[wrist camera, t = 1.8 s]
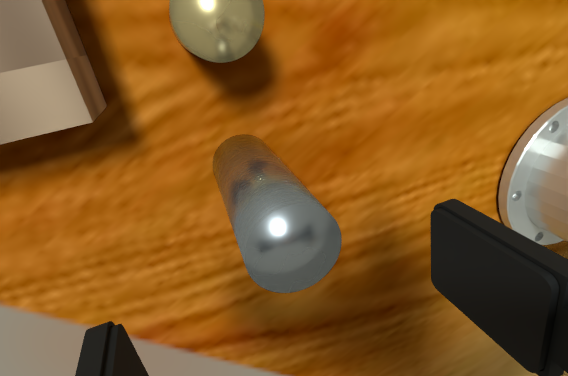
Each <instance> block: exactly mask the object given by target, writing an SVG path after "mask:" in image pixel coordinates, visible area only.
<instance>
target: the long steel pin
mask: <svg viewBox="0 0 568 376" xmlns="http://www.w3.org/2000/svg"><path fill="white" fill-rule="evenodd" d="M213 172H214V175H215V178H216V181H217V184H218V186H219V189H220V192H221V195H222V198H223V201H224V204H225V207H226V210H227V213H228V216H229V219H230V222H231V225H232V227H233V230H234V233H235V236H236V239H237V242H238V245H239V248H240V251H241V254H242V257H243V260H244V263H245V266H246V268H247V271H248V273H249V275H250V277H251V278H252V279H253V280H254V282H256V283H257V284H258V285H259V286H261V287H262V288H264V289H266V290H269V291H272V292H278V293H291V292H296V291H300V290H303V289H306V288H308V287H310V286H312V285H314V284H315V283H317V282H318V281H320V280H321V279H322V278H323V277H324V276H325V275H326V274H327V273H328V272H329V271H330V270H331V268H332V267H333V265H334V264H335V262H336V260H337V258H338V256H339V253H340V249H341V232H340V229H339V226H338V224H337V222H336V220H335V219H334V218H333V217H332V216H331V214H330V213H329V212H328V211H327V210H326V209H325V208H324V207H323V206H322V205H321V204H320V203H319V201H318V200H317V199H316V198H315V197H314V196H313V195H312V194H311V193H310V192H309V191H308V190H307V188H306V187H305V186H304V185H303V184H302V183H301V182H300V181H299V180H298V179H297V178H296V177H295V175H294V174H293V173H292V172H291V171H290V170H289V169H288V168H287V167H286V166H285V165H284V164H283V162H282V161H281V160H280V159H279V158H278V157H277V156H276V155H275V154H274V153H273V152H272V151H271V149H270V148H269V147H268V146H267V145H266V144H265V143H264V142H263V141H262V140H260V139H259V138H257V137H255V136H252V135H236V136H233V137H231V138H229V139H227V140H225V141H224V142H223V143H222V144H221V145H220V146H219V147H218V149H217V150H216V152H215V155H214V158H213Z"/></svg>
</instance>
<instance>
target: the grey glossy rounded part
mask: <svg viewBox="0 0 568 376" xmlns="http://www.w3.org/2000/svg"><path fill="white" fill-rule="evenodd" d="M169 19H170V24H171V28H172V31H173V33H174V35H175V37H176V38H177V40H178V41H179V42H180V44H181V45H182V46H183V47H185V48H186V49H187V50H188V51H190V52H192V53H193V54H195V55H197V56H199V57H200V58H202V59H205V60H208V61H211V62H218V63H225V62H231V61H234V60H237V59H239V58H241V57H243V56H244V55H246V54H247V53H248V52H249V51H250V50H251V49H252V48H253V47H254V46H255V44H256V43H257V41H258V39H259V37H260V35H261V32H262V29H263V25H264V5H263V1H262V0H170V7H169Z"/></svg>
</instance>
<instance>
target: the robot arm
mask: <svg viewBox="0 0 568 376" xmlns="http://www.w3.org/2000/svg"><path fill="white" fill-rule="evenodd" d="M498 200H499V211H500V215H501V218H502V221H503V223H504V225H503V224H501V223H499V222H497V221H496V220H494V219H492V218H490V217H488V216H486V215H484V214H483V213H481V212H479V211H477V210H475V209H473V208H471V207H470V206H468V205H466V204H464V203H462V202H460V201H458V200H456V199H450V200H447V201H445V202H442V203H439V204H437V205H435V207H434V210H433V211H432V212H431V280H432V283H433V285H434V286H435V288H436V289H437V290H438V291H439V292H440V293H441V294H442V295H444V296H445V297H446V298H447V299H448V300H449V301H450V302H451V303H453V304H454V305H455V306H456V307H457V308H458V309H459V310H460V311H461V312H463V313H464V314H465V315H466V316H467V317H468V318H469V319H470V320H471V321H473V322H474V323H475V324H476V325H477V326H478V327H479V328H480V329H482V330H483V331H484V332H485V333H486V334H487V335H488V336H489V337H490V338H492V339H493V340H494V341H495V342H496V343H497V344H498V345H499V346H501V347H502V348H503V349H504V350H505V351H506V352H507V353H508V354H509V355H511V356H512V357H513V358H514V359H515V360H516V361H517V362H518V363H520V364H521V365H522V366H523V367H524V368H525V369H526V370H528V371H529V372H532V373H536V374H538V375H539V376H561V375H563V373H564V370H565V371H566V372H567V373H568V259H566V258H564V257H562V256H560V255H559V254H557V253H555V252H553V251H551V250H549V249H547V248H546V247H544V246H542V245H549V244H554V243H558V242H561V241H563V240H565V241H567V242H568V98H566V99H564V100H563V101H561V102H559V103H557V104H555V105H554V106H552V107H551V108H550V109H548V110H547V111H546V112H544V113H543V114H542V115H541V116H540V117H539V118H538V119H537V120H536V121H535V122H534V123H533V124H532V125H530V127H529V128H528V129H527V130H526V132H525V133H524V134H523V135H522V137H521V138H520V139H519V141H518V143H517V144H516V146H515V147H514V149H513V151H512V152H511V154H510V156H509V159H508V161H507V163H506V166H505V168H504V171H503V175H502V178H501V182H500V188H499V196H498ZM75 376H149V375H148V373H147V371H146V369H145V367H144V366H143V364H142V362H141V360H140V358H139V356H138V354H137V352H136V350H135V348H134V346H133V344H132V342H131V340H130V338H129V336H128V334H127V333H126V331H125V329H124V327H123V325H122V324H118V325H114V323H113V322H112V321H109V322H107V323H104V324H101V325H98V326H95V327H93V328H90V329H88V330H87V331H86V333H85V336H84V340H83V345H82V349H81V353H80V357H79V362H78V367H77V370H76V375H75Z"/></svg>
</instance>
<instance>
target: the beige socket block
mask: <svg viewBox="0 0 568 376" xmlns="http://www.w3.org/2000/svg"><path fill="white" fill-rule="evenodd" d="M106 107H107V105H106V102H105V100H104V97H103V94H102V92H101V89H100V87H99V84H98V82H97V79H96V77H95V74H94V72H93V69H92V67H91V64H90V62H89V59H88V57H87V54H86V52H85V49H84V47H83V44H82V41H81V39H80V36H79V34H78V31H77V29H76V26H75V24H74V21H73V19H72V16H71V14H70V11H69V9H68V6H67V4H66V1H65V0H0V144H4V143H8V142H13V141H17V140H21V139H25V138H29V137H34V136H38V135H42V134H46V133H50V132H54V131H59V130H63V129H67V128H71V127H75V126H79V125H84V124H88V123H92V122H93V121H94V120H95V119H96V118H97V117H98V116H99V115H100V114H101V113H102V111H103V110H104V109H105V108H106Z"/></svg>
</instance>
